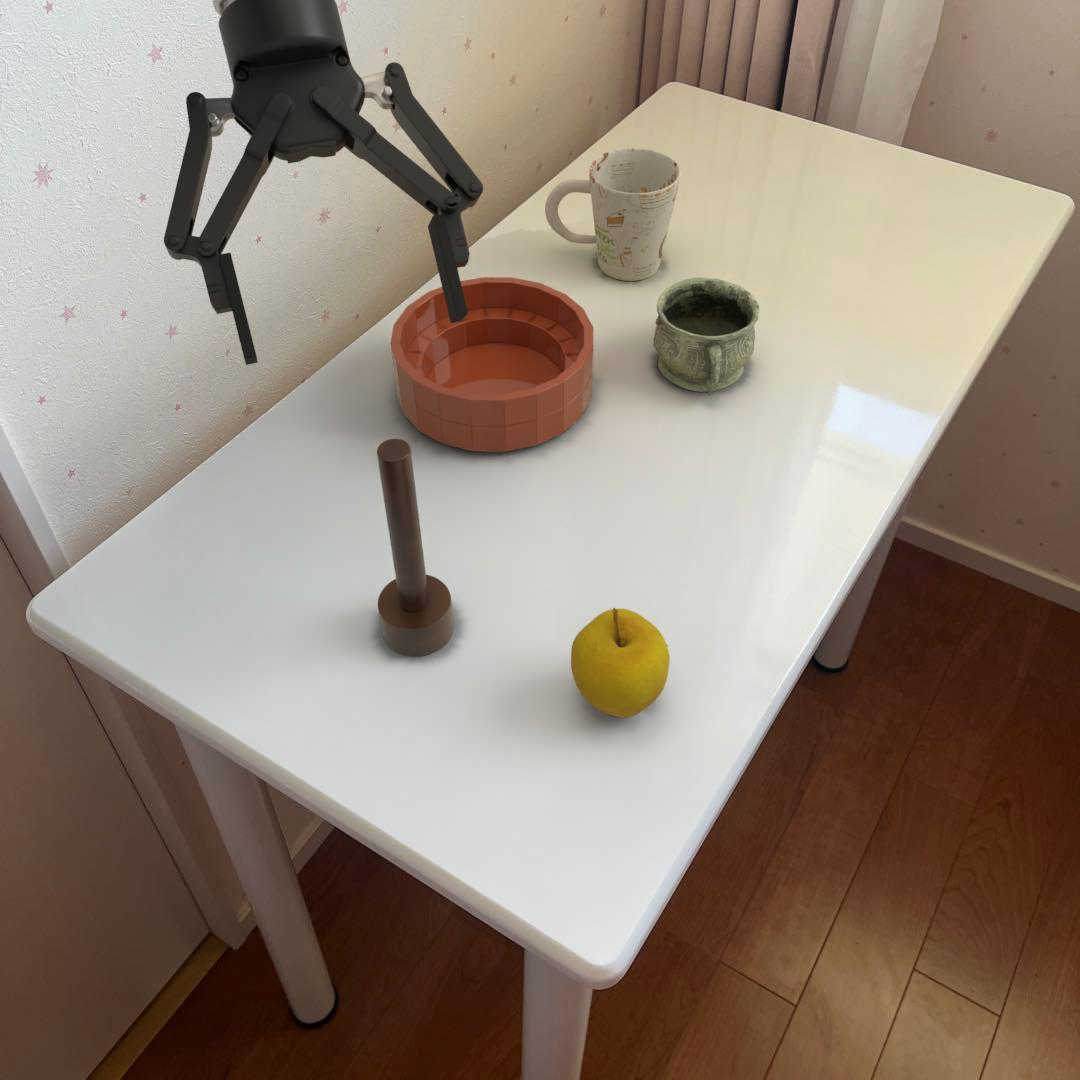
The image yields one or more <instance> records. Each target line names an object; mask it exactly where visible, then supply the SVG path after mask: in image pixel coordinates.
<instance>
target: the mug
mask: <svg viewBox="0 0 1080 1080" xmlns="http://www.w3.org/2000/svg"><path fill="white" fill-rule="evenodd" d="M588 173H589V175H588V179H581V178H580V179H579V178H577V179H576V178H575V179H574V178H573V179H566V180H563V181H561V182H559V183H558V184H557V185H556V186H555V187H553V188H552V189H551V191H550V192H549V194H548V196H547V198H546V200H545V205H544V213H545V214H544V215H545V219H546V220H547V223H548V225H549V226H550V228H551V229H552V230H553V231H554V232H555V233H556V234H558V236H560V237H561V238H563V239H564V240H566V241H568V242H571V243H574V244H580V245H581V244H582V245H584V244H585V245H591V244H592V245H593V244H596V245H595V246H596V255H597V262H598V267H599V269H600V270H601V271H602V272H603V273H604V274H605V275H607V276H608V277H610V278H612V279H615V280H617V281H624V282H625V281H626V282H637V281H642V280H645V279H648V278H650V277H652V276H654V275H655V274H656V273H657V272H658V270H659V269H660V265H661V262H662V259H663V253H664V249H665V245H666V241H667V237H668V233H669V228H670V223H671V220H672V215H673V211H674V207H675V203H676V198H677V194H678V191H679V185H680V182H681V181H680V180H681V169H680V166H679V164H678V163H677V162H676V161H675V160H674V159H673V158H672V157H670V156H669V155H667V154H664V153H662V152H660V151H657V150H653V149H648V148H643V147H642V148H641V147H625V148H618V149H613V150H610V151H606V152H604V153H602V154H600V155H599V156H598V157H596V158H595V159H594V160H593V161H592V162H591V164H590V166H589V171H588ZM572 193H573V194H574V193H578V194H579V193H580V194H589V195H590V199H591V206H592V216H593V225H594V234H595V235H591V234H582V233H581V234H579V233H574V232H572V231H571V230H569V229H568V228H567V226H566V225H564V223H563V222H562V219H561V218H560V215H559V205H560V203H561V201H563V199H564V198H565V197H566V196H567V195H569V194H572Z"/></svg>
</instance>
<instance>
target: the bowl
mask: <svg viewBox="0 0 1080 1080" xmlns="http://www.w3.org/2000/svg"><path fill="white" fill-rule="evenodd" d="M460 282H461V286H462V290H463V294H464V299H465V303H466V307H467V311H468V314H467V315H466V316H465V318H464V319H463V320H462V321H459V322H455V323H451V322H450V318H449V313H448V309H447V305H446V301H445V297H444V293H443V288H442V286H440V287H438V288H437V287H436V288H435V289H431V290H429V291H427V292H426V293H424V294H423V295H421V296H420V297H418V298H417V299H416V300H414V301H413V302H411V303H410V304H409V305H407V306H406V307H405V309H404V310H403V311H402V312H401V314H400V315H399V317H398V318H397V319H396V321H394V324H393V327H392V331H391V332H392V333H391V337H390V341H389V343H390V344H389V345H390V352H391V353H390V354H391V361H392V368H393V369H392V370H393V377H394V384H395V392H396V396H397V400H398V404H399V406H400V409H401V413H402V414H403V416H404V417H405V418H406V420H408V421H409V422H410V423H411V424H412V425H413V426H414V428H415V429H416V430H417V431H418V432H420V433H422V434H424V435H425V436H428V437H430V438H431V439H433V440H434V441H437V442H439V443H441V444H443V445H446V446H450V447H454V448H459V449H463V450H466V451H471V452H501V453H502V452H503V453H504V452H510V451H514V450H520V449H525V448H530V447H534V446H538V445H540V444H543V443H545V442H547V441H549V440H551V439H553V438H556V437H558V436H560V435H562V434H564V433H565V432H566V431H567V430H568V429H569V428H570V427H572V426H573V425H575V423H576V422H577V421H578V420H580V418H582V416H583V415H584V413H585V410H586V408H587V407H588V405H589V402H590V401H591V399H592V394H593V393H592V392H593V369H594V346H595V345H594V326H593V323H592V322H591V320H590V318H589V316H588V315H587V312H586V311H585V308H583V307H582V306H581V305H579V304H578V303H577V302H576V301H575V300H573V298H571V297H570V296H569V295H567V294H566V293H564V292H561V291H560V290H557V289H555V288H552V287H550V286H548V285H545V284H543V283H542V282H537V281H532V280H527V279H522V278H518V277H506V276H505V277H503V276H500V277H499V276H497V277H495V276H494V277H493V276H491V277H490V276H482V277H475V278H471V279H464V280H460Z"/></svg>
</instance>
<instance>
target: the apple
mask: <svg viewBox="0 0 1080 1080" xmlns="http://www.w3.org/2000/svg"><path fill="white" fill-rule="evenodd" d="M670 658H671V655H670V652H669V645H668V644H667V642H666V639H665V638H664V636H663V634H662V633H661V632H660V630H659V629H658V628H657V627H656V626H655V625H654V624H653V623H652V622H651V621H649V620H648V619H646V618H645V617H644V616H642V615H640V614H639V613H637V612H635V611H633V610H631V609H627V608H615V607H613V608H611V609H608V610H605V611H603V612H601V613H600V614H598V615H597V616H596V617H594V618H592V620H591V621H589V622H588V623H587V624H586V625H585V626H584V627H583V628H581V630H579V632H578V633H577V634H576V636H575V637H574V639H573V641H572V645H571V648H570V666H571V673H572V677H573V680H574V683H575V685H576V688H577V689H578V691H579V693H580V694H581V696H582V697H583V699H584V700H585V701H586V702H587V703H588V704H589V705H590V706H591V707H593V708H595V709H597V710H599V711H601V712H602V713H604V714H606V715H611V716H615V717H619V718H631V717H634V716H636V715H638V714H641V713H642V712H644V711H645V710H647V709H648V708H649V707H650V706H651V705H652V704H653V703H654V702H655V701H657V699H658V698H659V696H660V695H661V693H662V692H663V691H664V688H665V685H666V683H667V680H668V675H669V668H670V660H671V659H670Z"/></svg>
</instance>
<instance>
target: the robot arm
mask: <svg viewBox="0 0 1080 1080" xmlns="http://www.w3.org/2000/svg"><path fill="white" fill-rule="evenodd" d="M211 1H212V4H213V5H212V6H213V8H214V10H215V12H216V14H217V15H218V16H220V17H219V19H218V28H219V33H220V37H221V41H222V45H223V50H224V53H225V57H226V61H227V65H228V70H229V73H230V77H231V81H232V85H233V88H232V93H231V97H210V98H209V97H208V98H207V97H205V96H204V94H203V93H201V92H199V91H193V92H190V93H189V94H187V96H186V99H185V104H186V111H187V120H188V127H189V131H188V135H187V140H186V144H185V147H184V152H183V157H182V160H181V165H180V169H179V173H178V177H177V181H176V185H175V190H174V193H173V198H172V202H171V206H170V212H169V216H168V220H167V224H166V228H165V232H164V237H163V243H164V246H165V249H166V251H167V253H168V255H169V257H171V259H173V260H176V261H181V260H186V261H192V262H195V263H197V264H198V265H199V267H200V268H201V271H202V274H203V278H204V283H205V286H206V290H207V294H208V299H209V302H210V306H211V308H212V309H213V311H214V312H215V313H216V315H220V314H225V313H230V312H232V314H233V319H234V323H235V327H236V331H237V336H238V340H239V344H240V347H241V351H242V355H243V359H244V363H245V365H246V366H247V365H253V364H258V363H259V361H258V357H257V352H256V349H255V344H254V341H253V337H252V333H251V328H250V324H249V320H248V317H247V316H248V315H247V312H246V309H245V305H244V301H243V297H242V293H241V289H240V285H239V281H238V277H237V272H236V268H235V265H234V261H233V257H232V253H231V252H225V253H223V251H224V250H225V248H226V246H227V244H228V242H229V240H230V239H231V236H232V235H233V233H234V232H235V229H236V227H237V225H238V224H239V221H240V220H241V218H242V216H243V214H244V212H245V210H246V208H247V207H248V204H249V203H250V201H251V199H252V197H253V195H254V193H255V192H256V189H257V188H258V186H259V184H260V182H261V180H262V178H263V177H264V176H265V175H266V173H267V172H268V170H269V168H270V166H271V164H272V162H273V160H274V159H275V158H276V159H278V160H281V161H285V162H286V161H287V164H293V163H294V164H295V163H300V162H303V161H304V160H306V159H308V158H310V157H311V158H313V157H314V158H323V159H325V158H329V157H336V156H337V155H336V154H337V153H338V152H340V151H341V150H342V149H344V148H345V149H346V150H348V151H349V152H350V153H352V155H354V156H355V157H356V158H357V159H360V160H364V162H366V163H368V164H369V165H370V166H371V167H372V168H373V169H375V170H376V171H377V172H378V173H380V174H381V175H382V176H384V178H387V179H388V180H389V181H390V182H391V183H393V184H394V185H395V186H396V187H398V189H400V190H401V191H402V192H404V193H405V194H407V196H409V197H410V198H411V199H413V200H414V201H415V202H416V203H417V204H419V205H420V206H422V207H423V208H424V209H425V210H426V211H428V212H429V213H430V214H432V217H431V219H430V221H429V223H428V226H427V229H428V232H429V238H430V243H431V246H432V251H433V254H434V259H435V263H436V267H437V271H438V275H439V280H440V285H441V287H442V288H443V293H444V297H445V301H446V305H447V309H448V313H449V318H450V322H451V323H455V322H459V321H462V320H463V319H464V318H465V316H466V315H467V314H468V311H467V307H466V303H465V299H464V294H463V290H462V286H461V282H460V281H461V278H460V274H459V270H458V269H459V268H465V267H466V266H467V265H468V263H469V260H470V249H469V246H468V242H467V237H466V232H465V229H464V228H465V227H464V224H463V220H462V213H463V212H464V211H466V210H467V209H469V208H473V207H474V206H475V205H476V204H477V203H478V201H479V199H480V197H481V195H482V194H483V192H484V184H483V183H482V181H481V180H480V179H479V177H478V176H477V175H476V173H475V172H474V171H473V170H472V168H471V167H470V166H469V165H468V163H467V162H466V161H465V159H464V158H463V157H462V156H461V154H460V153H459V152H458V151H457V149H456V147H454V145H453V144H452V143H451V142H450V140H449V139H448V138H447V137H446V135H445V134H444V132H443V131H442V130H441V129H440V127H439V126H438V125H437V124H436V122H435V121H434V120H433V118H432V117H431V116H430V115H429V114H428V112H427V111H426V110H425V108H424V107H423V106H422V104H421V103H420V102H419V101H418V100H417V98H416V97H415V96H414V95H413V92H412V89H411V86H410V83H409V80H408V78H407V74H406V72H405V69H404V68H403V66H402V64H400V63H398V62H395V61H393V62H390V63H388V64H387V66H386V67H385V69H384V71H381V72H377V73H374V74H370V75H367V76H364V77H361V76H360V75H359V74H358V73H357V72H356V70H355V69H354V66H353V64H352V61H351V58H350V53H349V50H348V45H347V40H346V36H345V33H344V29H343V24H342V20H341V17H340V12H339V8H338V5H337V2H336V0H211ZM365 99H372V100H374V101H375V102H376V104H378V106H379V107H380V108H381V109H383V110H389V111H390V112H391V114H392V116H393V117H394V120H395V121H396V122H397V124H398V125H399V127H400V128H401V129H402V130H403V132H404V133H405V135H406V136H407V137H408V138H409V139H410V141H411V142H412V143H413V144H414V146H415V147H416V148H417V149H418V151H419V152H420V153H421V154H422V156H423V157H424V158H425V160H426V161H427V162H428V163H429V165H430V166H431V167H432V169H434V171H435V172H436V173H437V175H438V176H439V177H440V178H441V180H442V181H443V183H444V184H445V185H446V186H447V187H446V186H444V184H443V183H441V182H440V181H439V180H437V179H436V178H435V177H433V176H432V175H431V174H430V173H428V172H427V171H426V170H425V169H424V168H423V167H421V166H419V164H417V162H415V161H413V160H412V158H410V157H409V156H407V155H406V154H405V153H404V152H403V151H401V150H400V149H399V148H397V147H396V146H395V145H394V144H392V143H391V142H390V141H388V140H387V138H385V137H384V136H382V135H381V134H380V133H379V132H378V131H377V129H376V127H375V126H374V125H373V124H371V123H370V122H369V121H368V120H367V119H365V118H364V117H363V116H362V115H360V112H361V110H362V108H363V105H364V103H365ZM230 120H234V121H235V122H236V124H237V125H239V126H240V127H241V128H242V129H243V130H244V131H245V132H246V133H247V134H249V135H250V138H249V140H248V142H247V143H246V146H245V148H244V152H243V154H242V157H241V158H240V160H239V162H238V163H237V166H236V168H235V169H234V171H233V173H232V176H230V179H229V181H228V182H227V185H226V186H225V188H224V191H223V192H222V194H221V196H220V198H219V199H218V201H217V204H216V205H215V207H214V209H213V211H212V213H211V214H210V216H209V218H208V220H207V222H206V224H205V226H204V227H203V230H202V232H201V233H200V235H199V236H195V235H193V231H194V227H195V224H196V219H197V215H198V211H199V207H200V203H201V199H202V194H203V190H204V187H205V181H206V178H207V177H206V176H207V174H208V169H209V165H210V160H211V157H212V151H213V138H216V137H219V136H221V135H222V134H223V132H224V130H225V129H224V128H225V124H226V123H227V122H228V121H230Z"/></svg>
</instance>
